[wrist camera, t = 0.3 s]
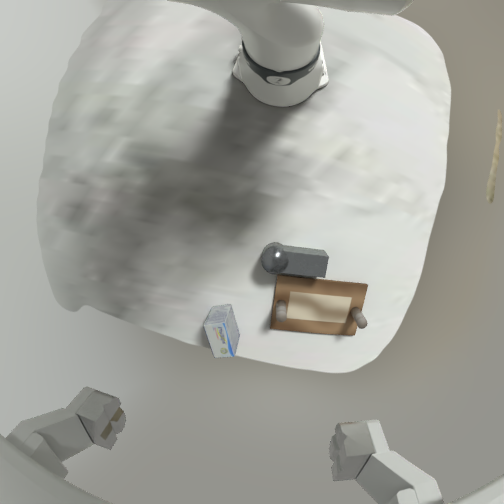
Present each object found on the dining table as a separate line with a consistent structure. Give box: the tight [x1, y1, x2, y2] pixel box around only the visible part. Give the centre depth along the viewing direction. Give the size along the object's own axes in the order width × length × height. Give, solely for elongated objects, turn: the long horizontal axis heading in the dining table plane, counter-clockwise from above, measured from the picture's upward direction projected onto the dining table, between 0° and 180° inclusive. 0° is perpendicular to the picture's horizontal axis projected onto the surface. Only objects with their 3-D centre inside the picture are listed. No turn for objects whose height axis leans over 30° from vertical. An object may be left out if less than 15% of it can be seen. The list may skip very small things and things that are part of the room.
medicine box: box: [204, 304, 240, 358], centre depth 54 cm, size 8×4×9 cm, turn 12°
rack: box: [270, 274, 368, 335], centre depth 52 cm, size 12×19×7 cm, turn 84°
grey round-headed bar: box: [261, 242, 329, 278], centre depth 51 cm, size 5×12×5 cm, turn 84°
